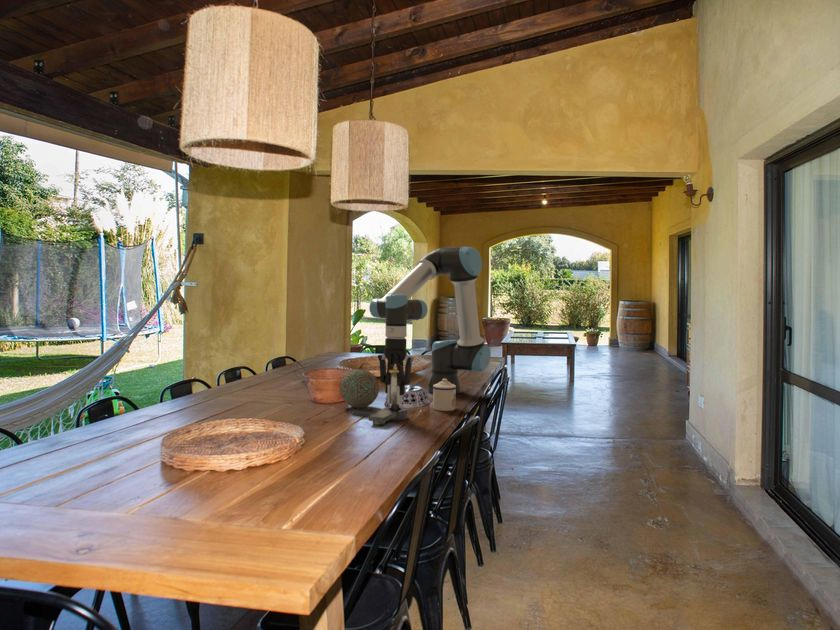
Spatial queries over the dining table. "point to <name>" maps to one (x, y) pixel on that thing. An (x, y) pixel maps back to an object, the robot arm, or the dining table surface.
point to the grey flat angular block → (382, 414)
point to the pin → (394, 388)
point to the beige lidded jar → (444, 396)
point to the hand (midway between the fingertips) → (394, 403)
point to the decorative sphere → (359, 388)
